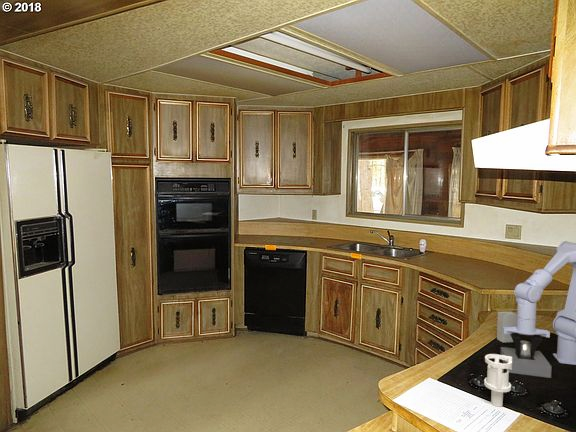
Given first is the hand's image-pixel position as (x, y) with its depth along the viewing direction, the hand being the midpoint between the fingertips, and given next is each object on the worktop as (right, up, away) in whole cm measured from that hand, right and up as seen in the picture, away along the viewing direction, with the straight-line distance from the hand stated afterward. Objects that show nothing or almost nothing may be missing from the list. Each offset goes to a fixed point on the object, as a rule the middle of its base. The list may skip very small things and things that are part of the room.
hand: (524, 354), depth 142 cm
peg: (0, -3, 0) cm, 3 cm away
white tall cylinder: (-23, -7, -24) cm, 33 cm away
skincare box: (+7, -3, +24) cm, 25 cm away
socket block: (0, -5, 0) cm, 5 cm away
